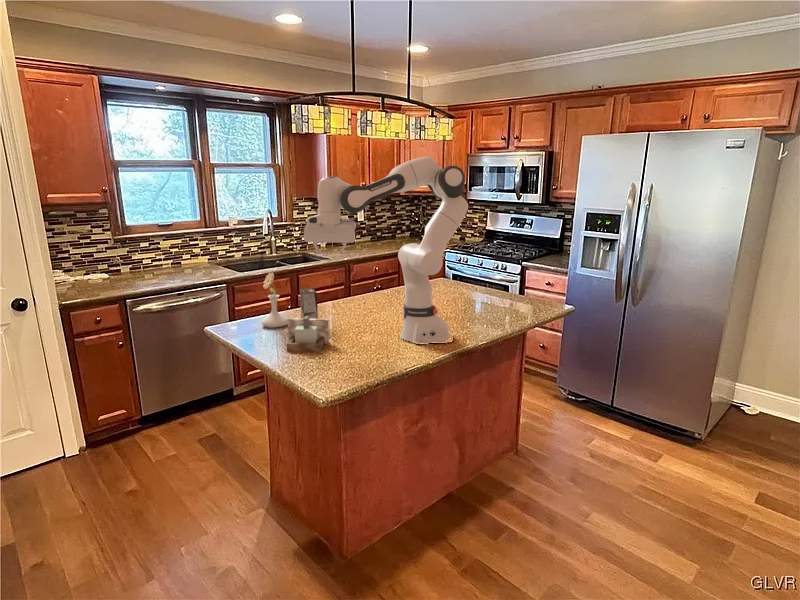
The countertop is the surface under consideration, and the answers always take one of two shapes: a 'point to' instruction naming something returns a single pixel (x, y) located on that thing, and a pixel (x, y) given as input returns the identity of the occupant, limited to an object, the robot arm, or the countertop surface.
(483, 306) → the countertop surface
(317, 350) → the tan lidded box
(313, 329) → the cube with grey handle
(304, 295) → the coffee box
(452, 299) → the countertop surface
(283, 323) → the flower in vase
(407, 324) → the robot arm
